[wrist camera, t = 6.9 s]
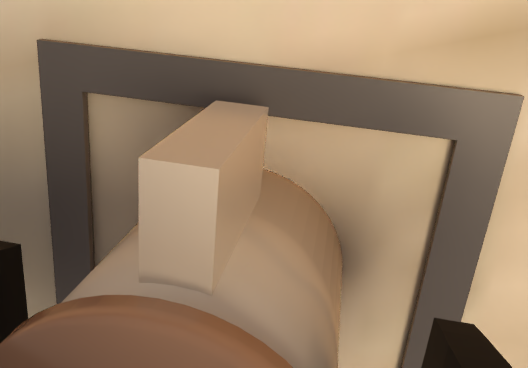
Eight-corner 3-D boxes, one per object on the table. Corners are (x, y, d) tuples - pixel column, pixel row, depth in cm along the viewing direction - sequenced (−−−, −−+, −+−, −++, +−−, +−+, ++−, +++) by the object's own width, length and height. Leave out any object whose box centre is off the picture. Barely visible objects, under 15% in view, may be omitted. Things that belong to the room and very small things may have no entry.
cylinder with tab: (380, 106, 10) (411, 245, 4) (334, 366, 13) (316, 670, 7) (139, 76, 11) (-103, 163, 5) (139, 329, 13) (-25, 580, 8)
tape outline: (521, 94, 10) (524, 96, 9) (433, 410, 13) (433, 416, 12) (42, 39, 11) (37, 39, 11) (63, 336, 14) (59, 340, 14)
